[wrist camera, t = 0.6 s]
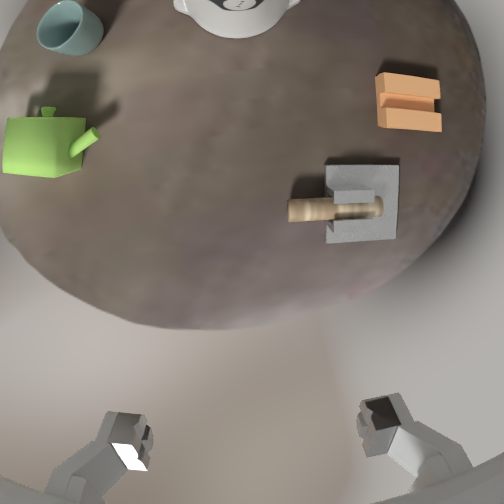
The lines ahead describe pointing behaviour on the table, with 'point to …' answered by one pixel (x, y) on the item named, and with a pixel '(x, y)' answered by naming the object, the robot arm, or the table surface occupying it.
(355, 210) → the axle
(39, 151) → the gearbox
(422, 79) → the orange grooved block
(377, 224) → the block
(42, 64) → the table surface
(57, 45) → the cup
